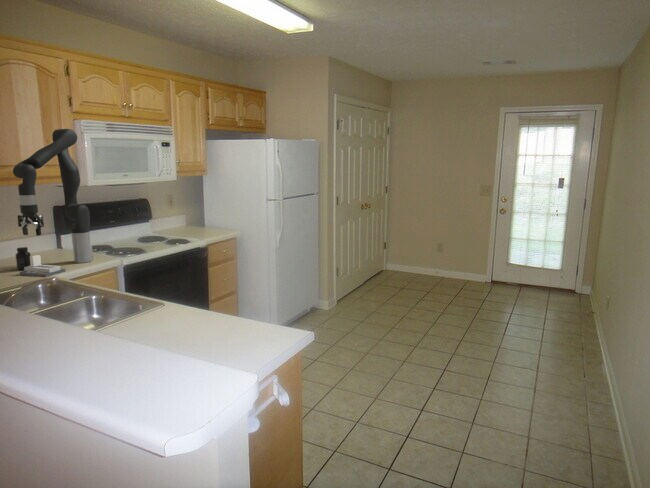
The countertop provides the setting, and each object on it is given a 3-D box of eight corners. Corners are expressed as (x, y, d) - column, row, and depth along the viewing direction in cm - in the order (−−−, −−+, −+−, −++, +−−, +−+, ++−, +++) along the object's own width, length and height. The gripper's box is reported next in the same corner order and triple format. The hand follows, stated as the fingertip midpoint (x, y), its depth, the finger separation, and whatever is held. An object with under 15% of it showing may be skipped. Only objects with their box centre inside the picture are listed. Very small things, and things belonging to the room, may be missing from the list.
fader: (37, 268, 237) (35, 254, 236) (43, 268, 236) (41, 255, 235) (29, 270, 233) (28, 256, 232) (35, 270, 232) (34, 256, 231)
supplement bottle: (35, 268, 246) (32, 246, 244) (24, 270, 239) (21, 248, 237) (25, 267, 248) (22, 246, 246) (14, 270, 241) (11, 248, 239)
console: (40, 269, 242) (39, 263, 241) (65, 271, 237) (64, 264, 237) (19, 274, 231) (18, 268, 230) (45, 276, 226) (45, 270, 225)
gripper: (45, 203, 230) (49, 234, 233) (24, 203, 234) (28, 233, 237) (32, 204, 223) (36, 236, 226) (10, 204, 227) (14, 235, 230)
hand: (32, 235), depth 232 cm, fingers open, 8 cm apart
